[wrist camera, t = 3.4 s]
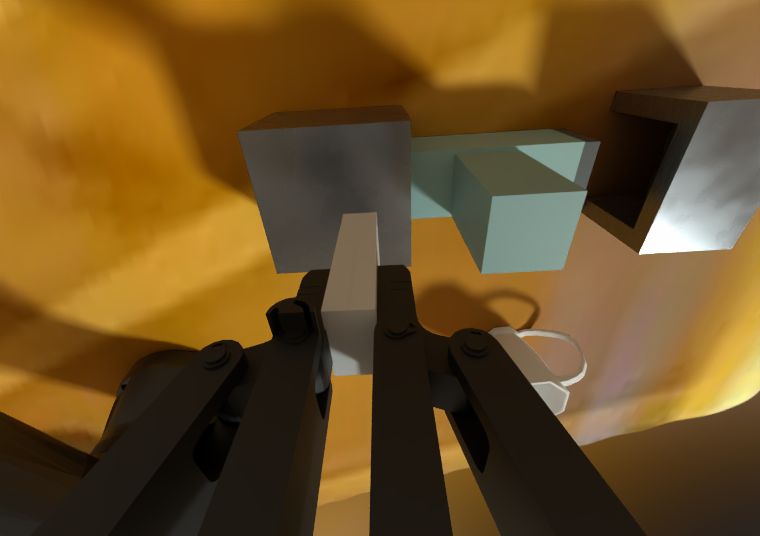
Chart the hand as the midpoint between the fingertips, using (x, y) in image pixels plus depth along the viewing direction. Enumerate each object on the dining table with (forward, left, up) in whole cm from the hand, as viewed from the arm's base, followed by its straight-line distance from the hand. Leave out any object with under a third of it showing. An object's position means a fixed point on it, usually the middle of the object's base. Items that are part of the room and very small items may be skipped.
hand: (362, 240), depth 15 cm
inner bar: (+4, 0, -12) cm, 12 cm away
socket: (+21, 0, -12) cm, 24 cm away
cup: (+15, -19, -12) cm, 27 cm away
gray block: (-2, 0, -12) cm, 12 cm away
